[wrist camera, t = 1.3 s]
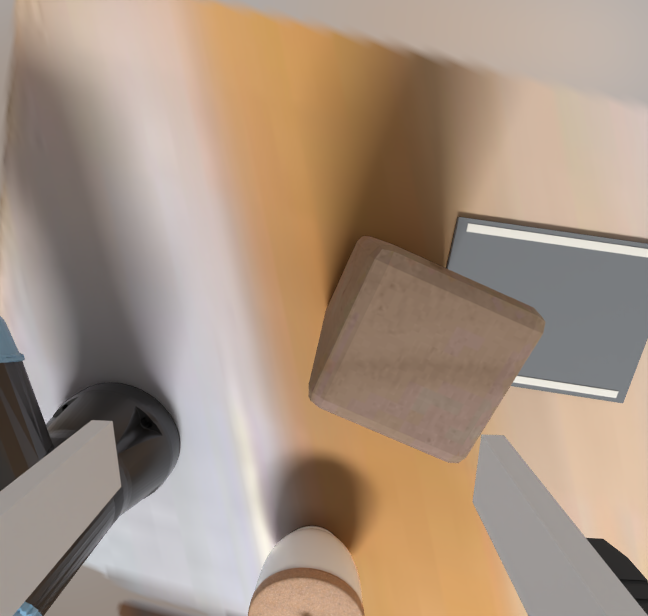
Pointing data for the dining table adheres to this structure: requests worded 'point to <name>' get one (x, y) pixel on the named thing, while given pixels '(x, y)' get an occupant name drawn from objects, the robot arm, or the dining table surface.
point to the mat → (565, 301)
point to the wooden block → (418, 350)
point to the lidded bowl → (308, 578)
